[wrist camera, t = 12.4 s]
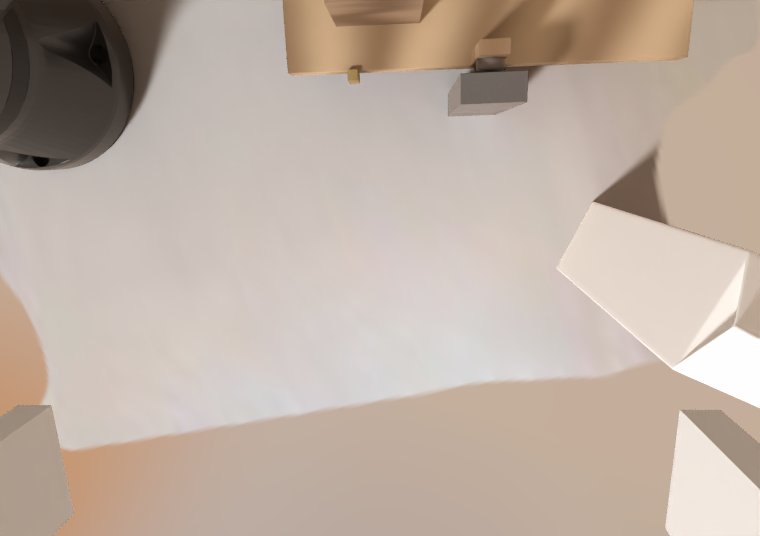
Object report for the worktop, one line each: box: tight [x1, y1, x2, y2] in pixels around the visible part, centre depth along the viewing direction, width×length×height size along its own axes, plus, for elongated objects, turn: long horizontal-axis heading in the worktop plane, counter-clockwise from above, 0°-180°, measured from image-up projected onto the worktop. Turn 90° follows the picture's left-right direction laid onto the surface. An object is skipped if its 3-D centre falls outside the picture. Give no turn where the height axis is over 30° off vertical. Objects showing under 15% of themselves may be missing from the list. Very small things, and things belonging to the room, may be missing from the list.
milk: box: [557, 202, 760, 408], centre depth 29 cm, size 6×6×22 cm
